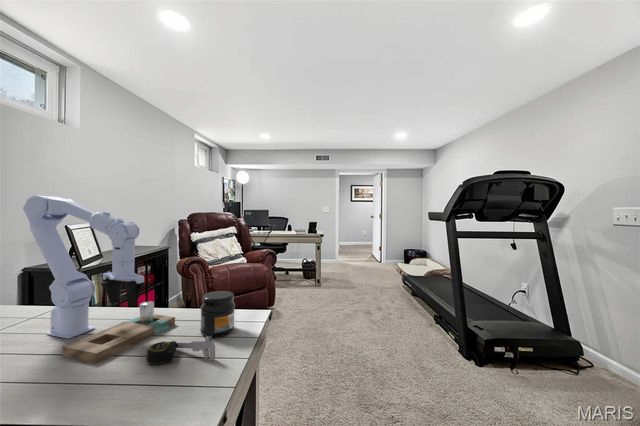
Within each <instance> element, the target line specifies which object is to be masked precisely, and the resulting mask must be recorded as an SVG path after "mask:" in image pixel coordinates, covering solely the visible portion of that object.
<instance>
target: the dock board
mask: <svg viewBox="0 0 640 426" xmlns="http://www.w3.org/2000/svg"><path fill="white" fill-rule="evenodd" d="M175 325H176V317H175V316H169V315H163V314H157V313H154V322H153V323H151V324H148V325H143V324H140V315H138V316H136V317H134V318H132V319H128V320H125V321H124V322H121V323H119V324H116V325H112V326H111V327H108V328H106V329H103V330H101V331H98V332H96V333H93V334H90V335H88V336H85V337H83V338H80V339H78V340H75V341H73V342H70V343H68V344H65V345H62V356H63V357H67V358H70V359H76V360H80V361H84V362H89V363H93V364H98V363H99V362H102V361H104V360H106V359H108V358H110V357H112V356H114V355H116V354H118V353H120V352H122V351H124V350H126V349H128V348H130V347H132V346H134V345H136V344H139V343H140V342H142V341H145V340H147V339H148V338H151V337H152V336H155V335H156V334H159V333H160V332H162V331H164V330H167V329H168V328H171V327H173V326H175Z"/></svg>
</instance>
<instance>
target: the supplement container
mask: <svg viewBox="0 0 640 426" xmlns="http://www.w3.org/2000/svg"><path fill="white" fill-rule="evenodd" d="M234 296H235V295H234V293H233V292H232V291H228V290H226V291H225V290H217V291H216V290H215V291H211V292H206V293H205V294H204V295H202V304H201V306H200V333H201V335H202V336H205V337H207V336H208V337H210V336H212V338H220V337H224V336H228V335H229V334H231V333H232V332H233V330H235V307H236V304H235V302H234Z"/></svg>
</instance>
